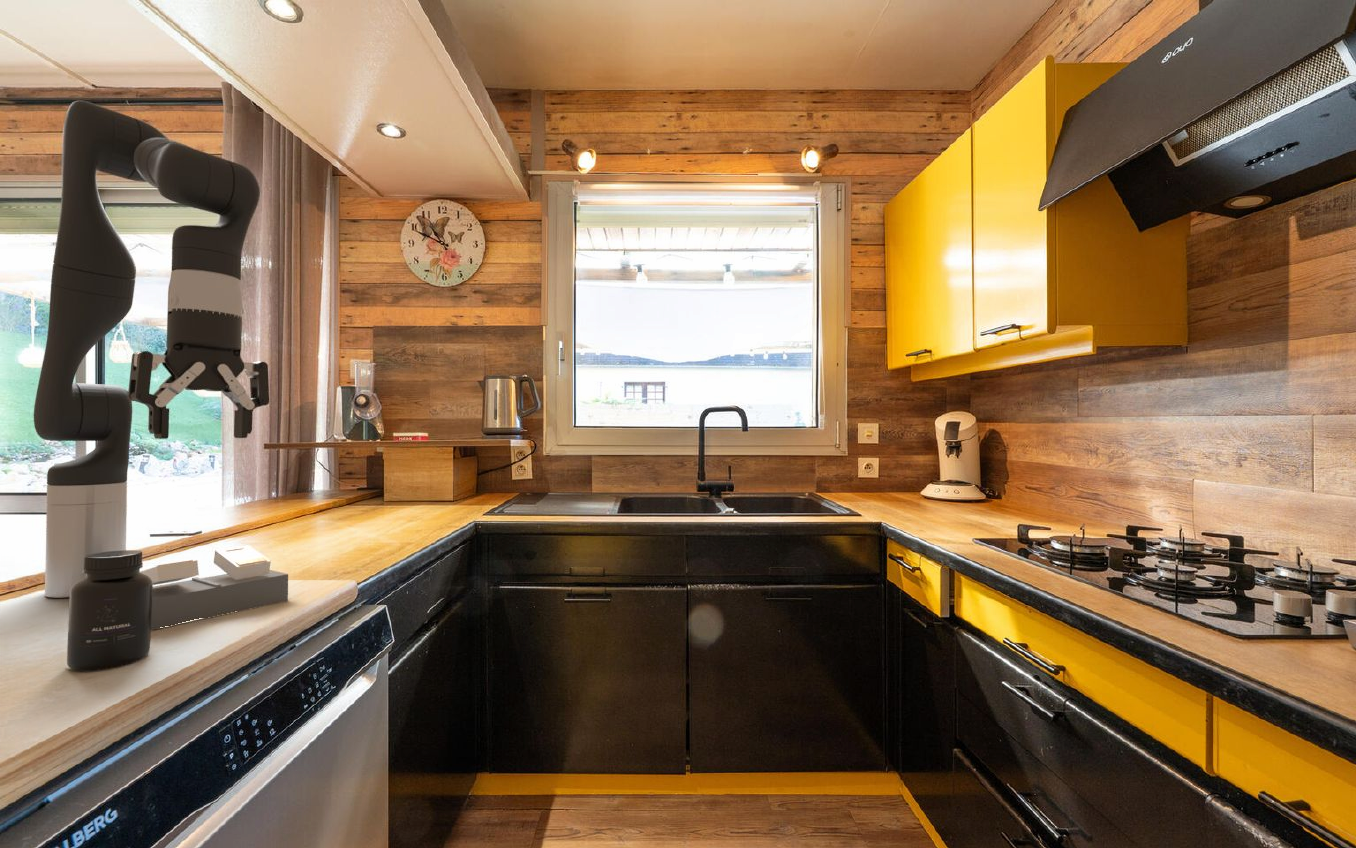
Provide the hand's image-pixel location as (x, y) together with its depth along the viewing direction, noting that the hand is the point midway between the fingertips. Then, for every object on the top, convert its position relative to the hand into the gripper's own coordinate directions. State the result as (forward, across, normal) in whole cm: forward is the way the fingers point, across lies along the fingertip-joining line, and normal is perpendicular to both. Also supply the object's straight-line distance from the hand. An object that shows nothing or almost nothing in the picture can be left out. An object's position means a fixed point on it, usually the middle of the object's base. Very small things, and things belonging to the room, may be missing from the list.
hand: (202, 438), depth 77 cm
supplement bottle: (+25, +9, +3) cm, 27 cm away
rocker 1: (+19, 0, -10) cm, 21 cm away
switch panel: (+25, -5, -10) cm, 27 cm away
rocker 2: (+19, -9, -10) cm, 23 cm away
